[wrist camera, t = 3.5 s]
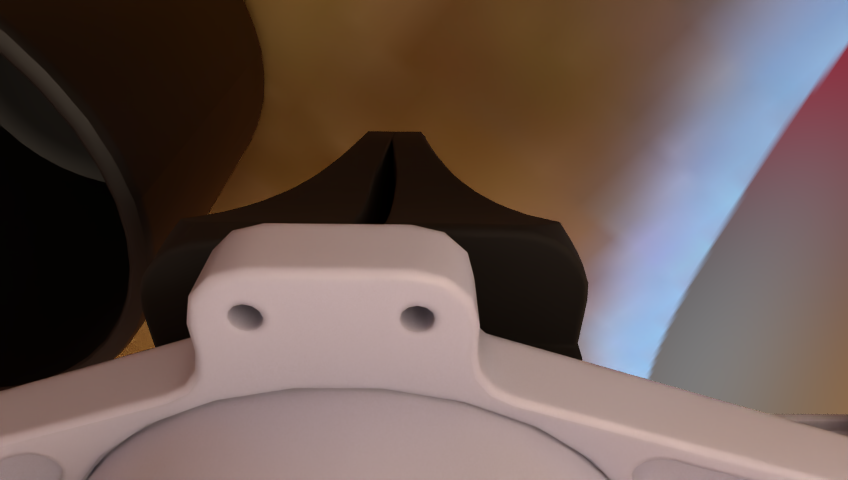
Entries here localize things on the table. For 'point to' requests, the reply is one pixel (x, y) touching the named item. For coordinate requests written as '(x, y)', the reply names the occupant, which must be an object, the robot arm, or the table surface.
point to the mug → (108, 160)
